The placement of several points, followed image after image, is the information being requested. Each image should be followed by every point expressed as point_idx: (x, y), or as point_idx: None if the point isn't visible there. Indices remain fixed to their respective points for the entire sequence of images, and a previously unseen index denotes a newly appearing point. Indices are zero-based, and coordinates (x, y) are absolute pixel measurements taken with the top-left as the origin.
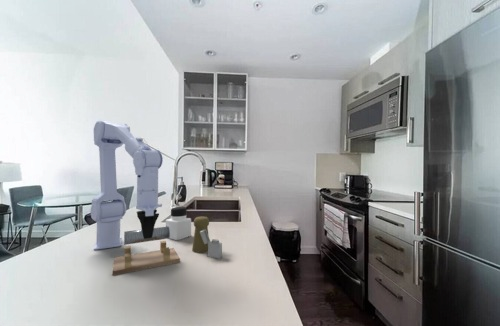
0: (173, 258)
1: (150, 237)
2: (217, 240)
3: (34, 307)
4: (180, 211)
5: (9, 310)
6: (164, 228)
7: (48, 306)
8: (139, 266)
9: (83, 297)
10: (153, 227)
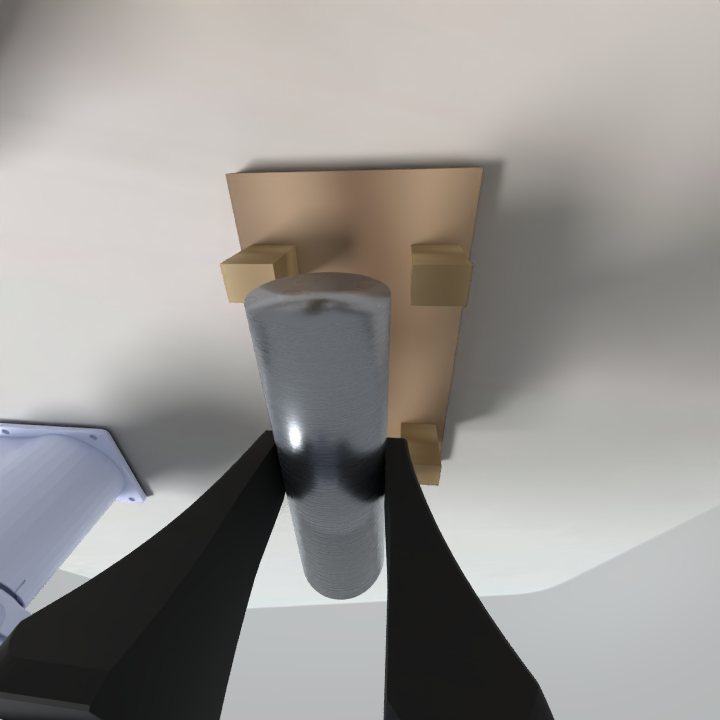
0: (450, 216)
1: (407, 448)
2: None
3: (518, 571)
4: None
5: (496, 592)
6: (346, 375)
7: (536, 557)
8: (448, 395)
9: (549, 515)
10: (431, 518)
